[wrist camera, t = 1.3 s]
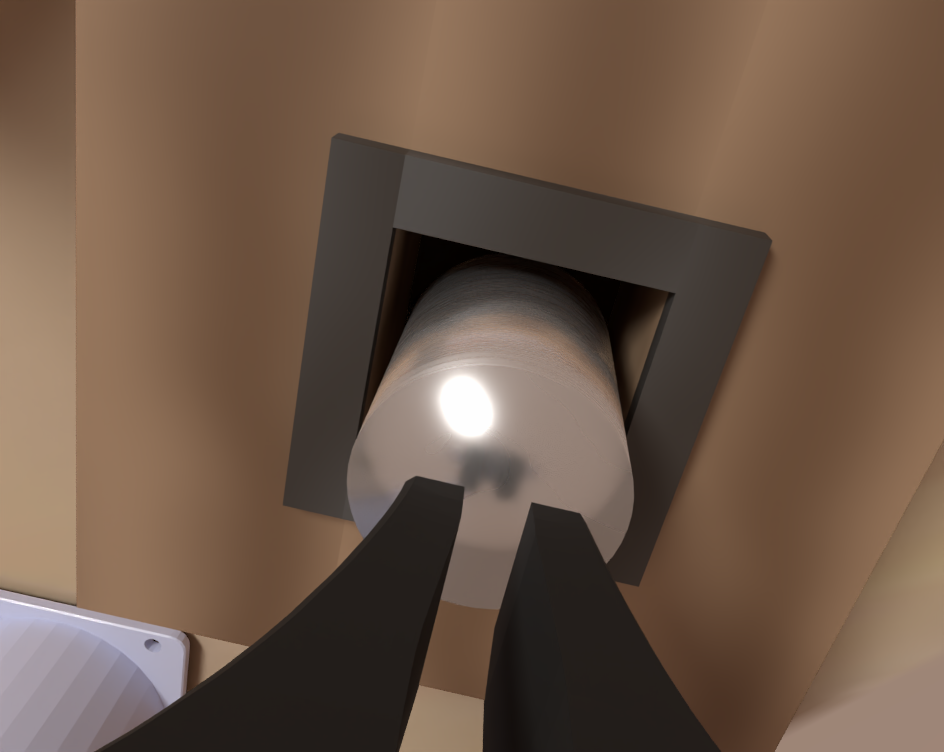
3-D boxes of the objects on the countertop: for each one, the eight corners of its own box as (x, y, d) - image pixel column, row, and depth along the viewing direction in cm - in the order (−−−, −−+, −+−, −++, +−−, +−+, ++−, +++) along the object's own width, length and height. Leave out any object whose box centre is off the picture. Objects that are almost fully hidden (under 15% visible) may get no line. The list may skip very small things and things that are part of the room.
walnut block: (170, 485, 23) (64, 622, 18) (209, -186, 16) (55, -267, 11) (725, 612, 23) (772, 783, 18) (1003, 2, 16) (1203, 8, 11)
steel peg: (388, 418, 17) (329, 575, 12) (424, 231, 15) (370, 335, 10) (579, 461, 17) (589, 634, 12) (636, 280, 15) (673, 405, 11)
